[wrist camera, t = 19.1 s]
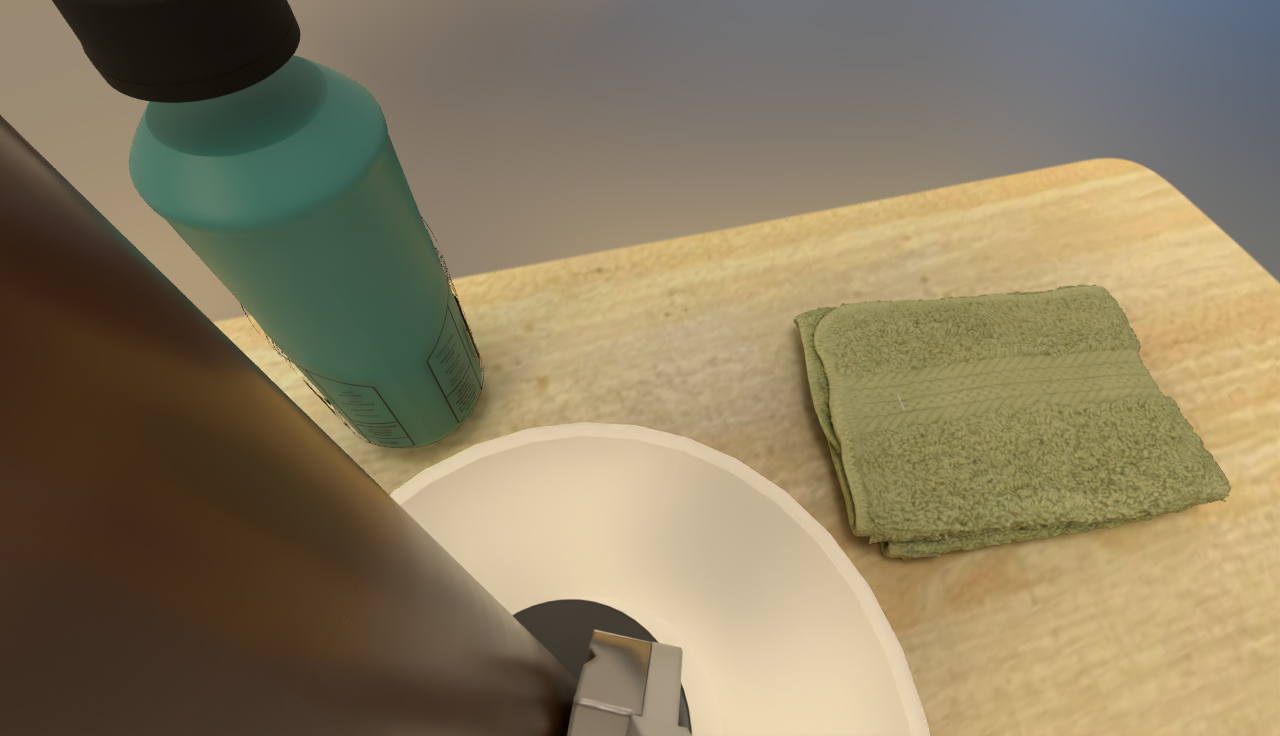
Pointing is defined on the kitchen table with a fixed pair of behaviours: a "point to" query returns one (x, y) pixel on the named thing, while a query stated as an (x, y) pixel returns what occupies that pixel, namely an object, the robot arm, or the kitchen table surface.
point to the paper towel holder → (218, 529)
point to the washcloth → (997, 420)
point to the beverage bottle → (291, 204)
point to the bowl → (679, 571)
